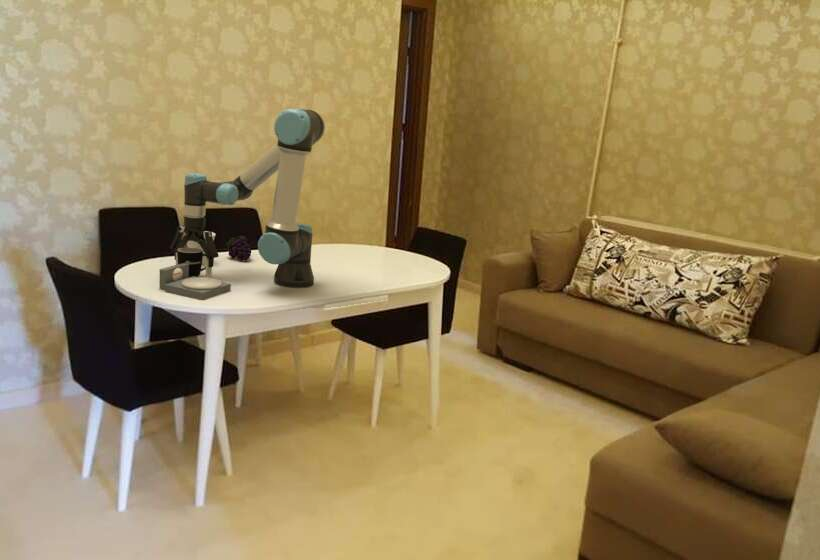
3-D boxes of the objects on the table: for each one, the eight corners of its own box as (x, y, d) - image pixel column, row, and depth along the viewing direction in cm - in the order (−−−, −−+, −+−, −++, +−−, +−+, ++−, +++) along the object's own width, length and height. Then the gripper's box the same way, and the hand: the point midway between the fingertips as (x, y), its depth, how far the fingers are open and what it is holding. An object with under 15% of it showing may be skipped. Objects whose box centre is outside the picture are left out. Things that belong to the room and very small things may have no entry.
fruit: (238, 270, 273) (219, 254, 282) (260, 263, 280) (241, 248, 289) (239, 248, 268) (220, 233, 276) (261, 242, 275) (241, 227, 283)
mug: (180, 280, 239) (181, 253, 237) (174, 274, 246) (174, 247, 244) (213, 278, 246) (214, 251, 243) (206, 272, 253) (206, 246, 250)
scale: (230, 290, 232) (231, 271, 230) (202, 300, 218) (203, 279, 216) (185, 281, 238) (186, 262, 237) (156, 289, 225) (156, 269, 223)
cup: (220, 265, 266) (221, 235, 263) (194, 268, 257) (194, 237, 254) (204, 259, 273) (205, 229, 270) (178, 261, 264) (178, 231, 261)
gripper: (229, 220, 240) (227, 276, 245) (174, 210, 248) (173, 264, 253) (216, 222, 233) (214, 279, 238) (160, 212, 241) (159, 267, 246)
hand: (193, 272), depth 246 cm, fingers open, 13 cm apart
